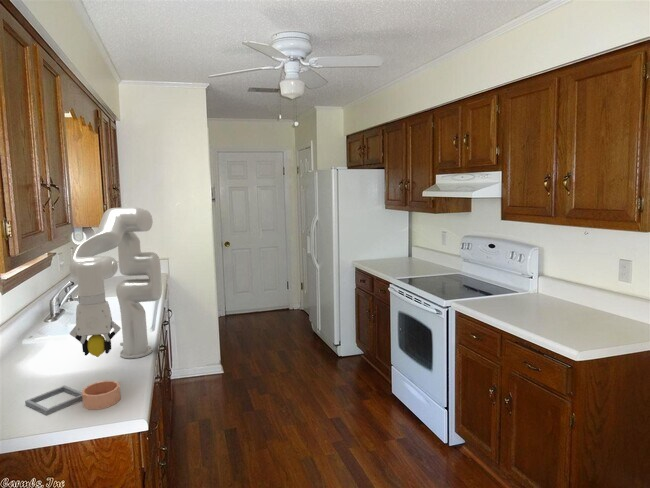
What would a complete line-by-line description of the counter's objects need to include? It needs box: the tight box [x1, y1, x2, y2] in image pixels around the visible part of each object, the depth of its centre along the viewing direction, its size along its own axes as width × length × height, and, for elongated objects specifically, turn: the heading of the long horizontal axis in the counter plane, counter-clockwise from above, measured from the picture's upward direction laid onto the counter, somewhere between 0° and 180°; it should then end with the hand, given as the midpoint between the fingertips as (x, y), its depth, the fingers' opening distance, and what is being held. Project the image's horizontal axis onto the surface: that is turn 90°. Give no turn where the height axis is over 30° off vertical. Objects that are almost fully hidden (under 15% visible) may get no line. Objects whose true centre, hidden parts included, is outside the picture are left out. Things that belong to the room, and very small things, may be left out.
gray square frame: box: [24, 385, 83, 416], centre depth 157 cm, size 13×13×2 cm
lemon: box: [87, 334, 106, 358], centre depth 154 cm, size 6×6×8 cm
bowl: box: [81, 380, 122, 410], centre depth 157 cm, size 11×11×4 cm
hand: (97, 352), depth 154 cm, fingers closed on lemon, 5 cm apart
